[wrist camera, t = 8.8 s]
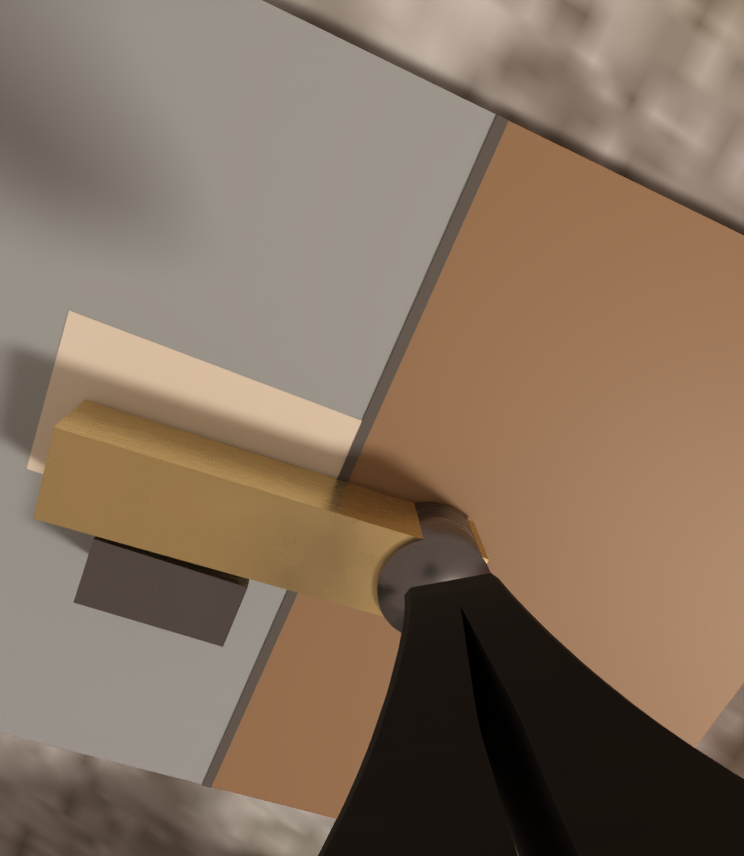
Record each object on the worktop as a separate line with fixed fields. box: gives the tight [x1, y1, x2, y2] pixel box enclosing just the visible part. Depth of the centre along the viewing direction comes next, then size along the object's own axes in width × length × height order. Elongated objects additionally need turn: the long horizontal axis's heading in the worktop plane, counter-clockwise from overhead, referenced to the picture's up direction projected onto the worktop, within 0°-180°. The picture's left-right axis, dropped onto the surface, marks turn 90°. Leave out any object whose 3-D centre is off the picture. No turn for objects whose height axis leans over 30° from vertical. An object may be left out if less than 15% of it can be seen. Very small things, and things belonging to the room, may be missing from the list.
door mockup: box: [0, 0, 744, 854], centre depth 19 cm, size 22×28×1 cm
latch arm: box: [33, 400, 490, 633], centre depth 17 cm, size 12×3×2 cm, turn 69°
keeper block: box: [73, 536, 249, 647], centre depth 18 cm, size 2×4×2 cm, turn 67°
